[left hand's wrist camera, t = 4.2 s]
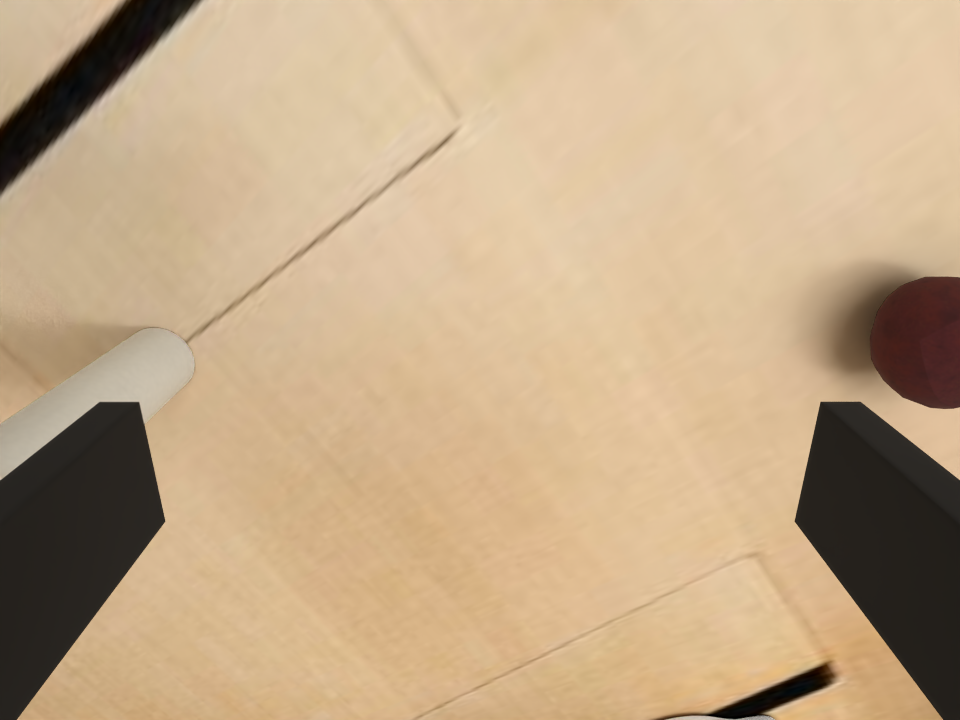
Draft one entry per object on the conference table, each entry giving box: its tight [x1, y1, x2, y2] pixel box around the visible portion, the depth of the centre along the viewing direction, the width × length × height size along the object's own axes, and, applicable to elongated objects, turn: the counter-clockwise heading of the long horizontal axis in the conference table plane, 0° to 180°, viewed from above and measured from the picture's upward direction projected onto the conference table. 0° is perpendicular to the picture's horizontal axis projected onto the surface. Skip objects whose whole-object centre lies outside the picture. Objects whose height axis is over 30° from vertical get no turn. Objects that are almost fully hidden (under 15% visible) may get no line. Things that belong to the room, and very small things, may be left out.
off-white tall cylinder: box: [0, 328, 195, 479], centre depth 33 cm, size 4×4×18 cm
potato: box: [870, 277, 960, 409], centre depth 38 cm, size 7×8×7 cm
